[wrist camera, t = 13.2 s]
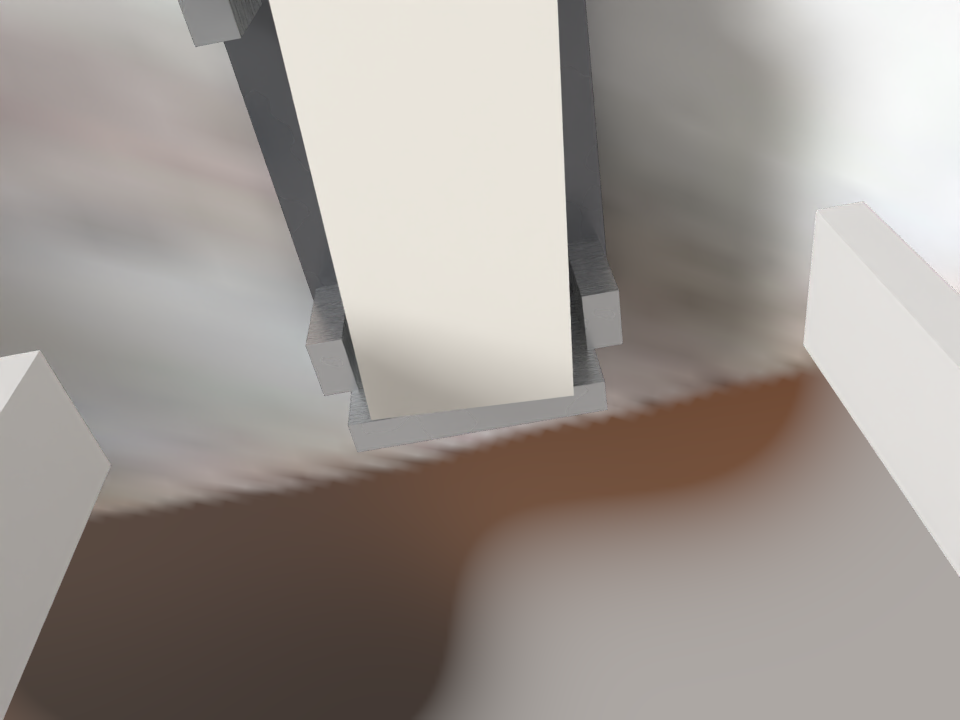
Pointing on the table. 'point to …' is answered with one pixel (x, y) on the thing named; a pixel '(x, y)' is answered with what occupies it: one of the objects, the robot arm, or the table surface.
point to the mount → (266, 91)
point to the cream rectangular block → (439, 192)
